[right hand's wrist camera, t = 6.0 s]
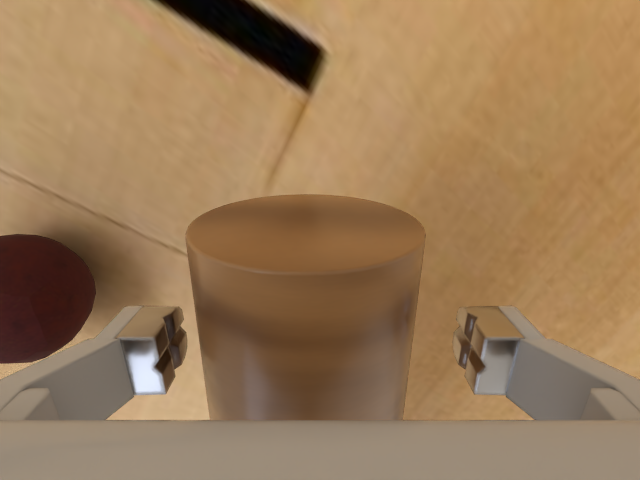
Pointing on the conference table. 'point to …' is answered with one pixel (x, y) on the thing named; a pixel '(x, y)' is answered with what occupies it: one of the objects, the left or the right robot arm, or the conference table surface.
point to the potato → (40, 297)
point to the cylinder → (305, 307)
